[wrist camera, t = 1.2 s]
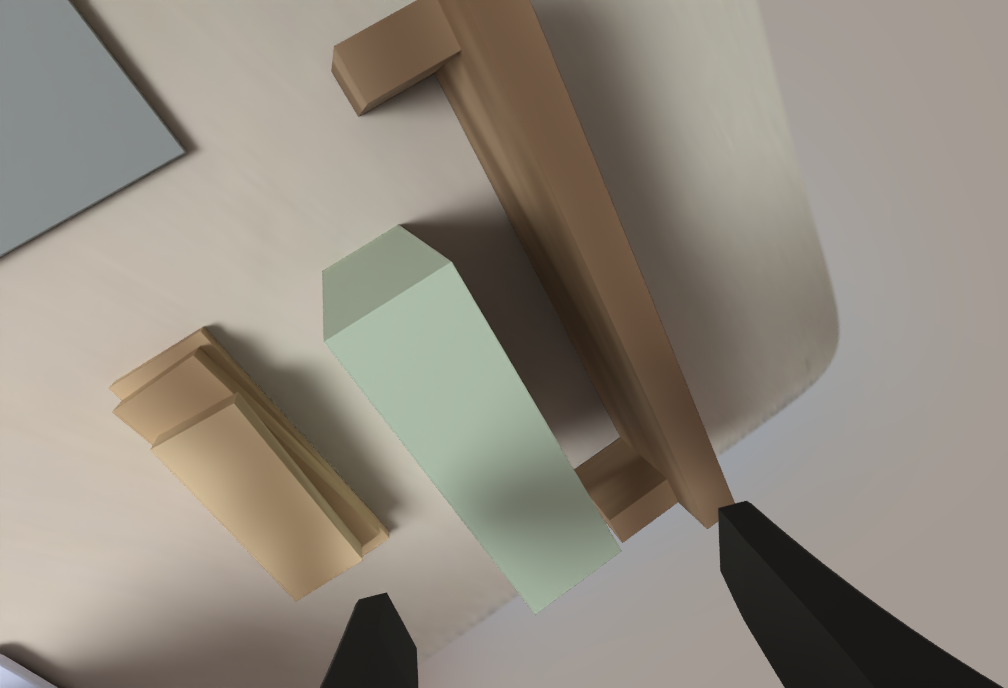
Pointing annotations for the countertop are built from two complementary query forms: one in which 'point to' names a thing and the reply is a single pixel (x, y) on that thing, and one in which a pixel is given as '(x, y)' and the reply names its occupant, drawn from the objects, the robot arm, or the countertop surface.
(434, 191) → the countertop surface
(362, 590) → the countertop surface
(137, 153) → the slate mat
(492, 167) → the walnut rack
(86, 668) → the countertop surface
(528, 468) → the tall sage green prism
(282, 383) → the countertop surface
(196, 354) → the offcut stack
